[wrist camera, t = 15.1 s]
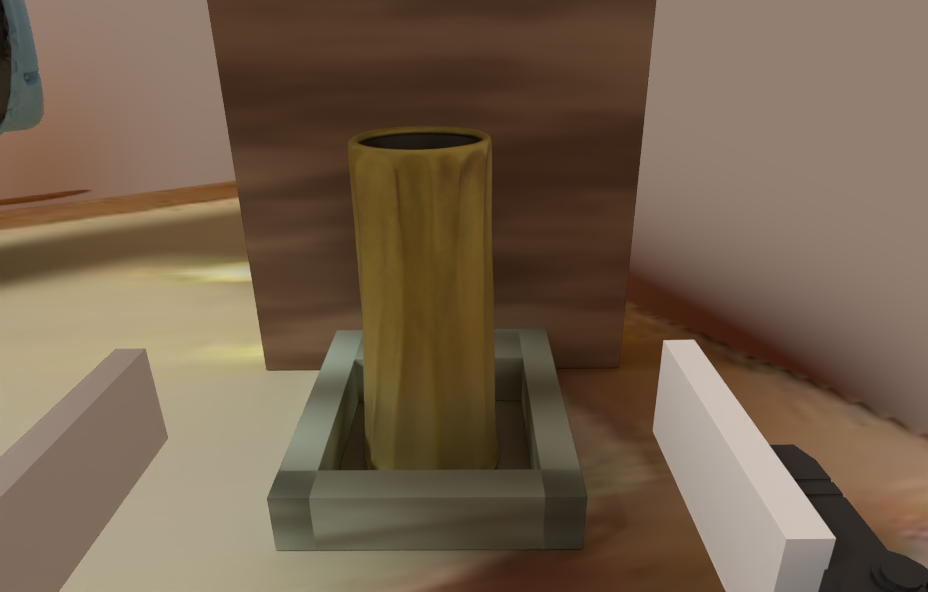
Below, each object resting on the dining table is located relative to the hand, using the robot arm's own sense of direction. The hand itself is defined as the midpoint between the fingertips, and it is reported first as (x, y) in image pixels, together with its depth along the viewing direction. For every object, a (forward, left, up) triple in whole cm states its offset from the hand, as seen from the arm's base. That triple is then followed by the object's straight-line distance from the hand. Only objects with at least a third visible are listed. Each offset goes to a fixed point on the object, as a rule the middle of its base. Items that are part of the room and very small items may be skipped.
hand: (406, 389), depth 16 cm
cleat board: (-11, +4, -9) cm, 15 cm away
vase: (-9, +3, -10) cm, 14 cm away
